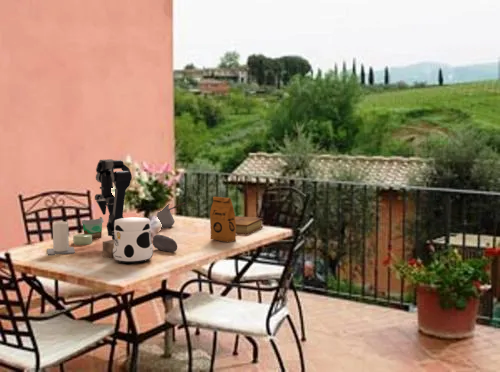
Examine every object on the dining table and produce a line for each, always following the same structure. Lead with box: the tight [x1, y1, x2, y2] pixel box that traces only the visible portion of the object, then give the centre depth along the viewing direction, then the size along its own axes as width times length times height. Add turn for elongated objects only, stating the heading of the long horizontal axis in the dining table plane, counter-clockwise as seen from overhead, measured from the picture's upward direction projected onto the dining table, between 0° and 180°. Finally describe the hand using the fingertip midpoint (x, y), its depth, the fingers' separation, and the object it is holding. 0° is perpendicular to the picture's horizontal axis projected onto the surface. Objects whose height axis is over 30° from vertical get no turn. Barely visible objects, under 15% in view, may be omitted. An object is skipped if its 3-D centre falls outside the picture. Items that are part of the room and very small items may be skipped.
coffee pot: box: [156, 201, 187, 229], centre depth 355 cm, size 21×12×15 cm, turn 57°
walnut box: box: [102, 239, 115, 260], centre depth 287 cm, size 6×6×7 cm
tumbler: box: [52, 221, 70, 252], centre depth 297 cm, size 6×6×13 cm
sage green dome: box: [72, 233, 93, 246], centre depth 316 cm, size 9×9×4 cm
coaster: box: [46, 246, 76, 256], centre depth 298 cm, size 12×12×1 cm
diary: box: [235, 215, 264, 235], centre depth 350 cm, size 23×19×6 cm
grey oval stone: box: [152, 234, 178, 253], centre depth 298 cm, size 15×5×7 cm, turn 46°
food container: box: [81, 216, 104, 240], centre depth 328 cm, size 12×6×10 cm, turn 143°
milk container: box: [113, 216, 154, 264], centre depth 278 cm, size 17×17×18 cm
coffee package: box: [209, 196, 237, 243], centre depth 319 cm, size 10×12×22 cm
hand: (108, 215), depth 319 cm, fingers open, 9 cm apart
